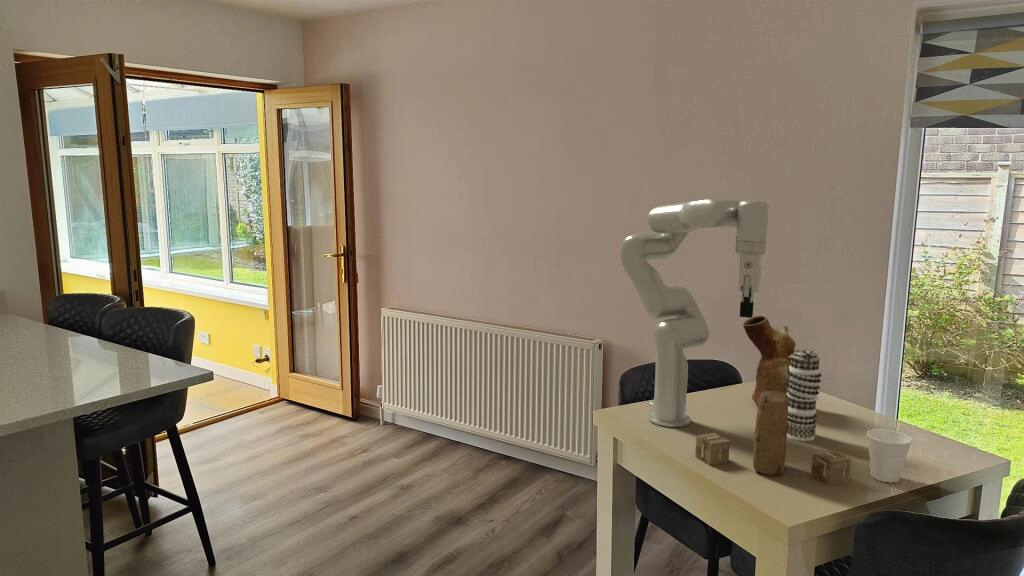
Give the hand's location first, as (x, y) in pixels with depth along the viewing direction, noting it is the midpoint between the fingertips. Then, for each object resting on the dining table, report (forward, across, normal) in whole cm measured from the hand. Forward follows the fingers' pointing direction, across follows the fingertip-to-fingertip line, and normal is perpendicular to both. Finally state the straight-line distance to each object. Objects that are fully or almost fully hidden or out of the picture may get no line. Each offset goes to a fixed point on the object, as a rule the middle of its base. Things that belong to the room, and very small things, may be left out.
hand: (746, 316), depth 182 cm
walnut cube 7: (+37, -10, -23) cm, 45 cm away
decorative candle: (+37, +18, -16) cm, 44 cm away
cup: (+37, -4, -35) cm, 52 cm away
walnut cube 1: (+37, -10, +6) cm, 39 cm away
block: (+37, -10, -8) cm, 40 cm away
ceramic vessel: (+37, +42, -7) cm, 57 cm away
